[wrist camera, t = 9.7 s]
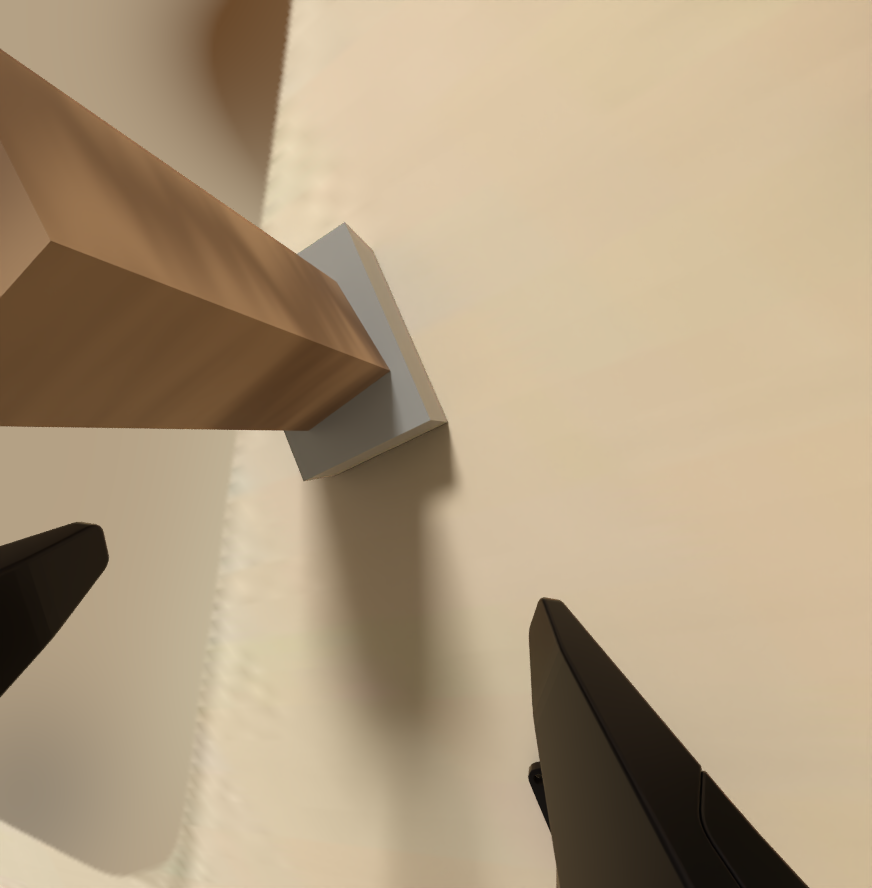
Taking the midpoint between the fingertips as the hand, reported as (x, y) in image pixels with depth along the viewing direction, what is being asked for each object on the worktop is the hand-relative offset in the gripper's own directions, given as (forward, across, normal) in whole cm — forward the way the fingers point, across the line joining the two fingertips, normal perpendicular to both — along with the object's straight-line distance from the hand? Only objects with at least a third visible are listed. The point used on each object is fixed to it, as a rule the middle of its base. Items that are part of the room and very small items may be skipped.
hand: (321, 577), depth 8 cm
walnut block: (+13, +4, -1) cm, 13 cm away
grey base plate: (+15, +3, 0) cm, 16 cm away
